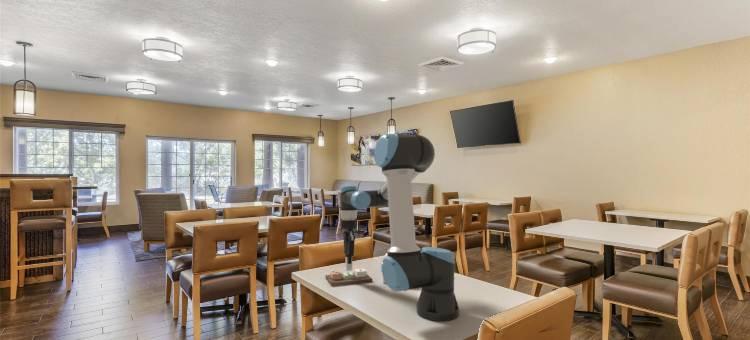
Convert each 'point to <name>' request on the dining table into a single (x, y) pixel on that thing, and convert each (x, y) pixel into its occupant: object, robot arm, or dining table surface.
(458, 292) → the dining table surface
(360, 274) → the tile
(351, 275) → the tile
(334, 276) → the tile
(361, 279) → the board
